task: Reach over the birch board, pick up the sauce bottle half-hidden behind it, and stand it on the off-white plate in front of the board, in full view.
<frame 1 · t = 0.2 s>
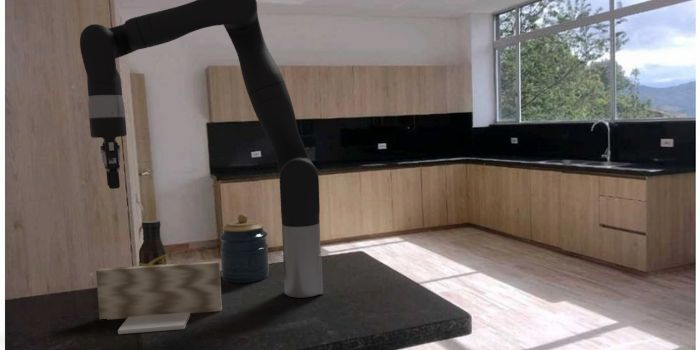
hand: (113, 187, 124), 28 cm above the countertop, tool pointing down, fingers open, 8 cm apart
sauce bottle: (155, 305, 127), on the countertop
canister: (245, 277, 148), on the countertop
birch board: (162, 314, 120), on the countertop
white plate: (155, 324, 113), on the countertop
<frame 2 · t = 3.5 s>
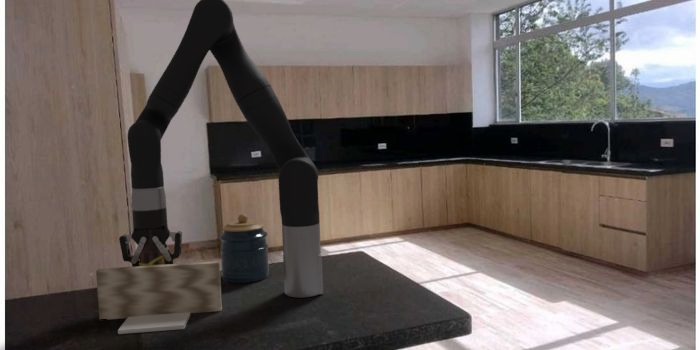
hand: (153, 276, 126), 7 cm above the countertop, tool pointing down, fingers closed on sauce bottle, 6 cm apart
sauce bottle: (155, 305, 127), on the countertop, touching gripper
everything else where it was.
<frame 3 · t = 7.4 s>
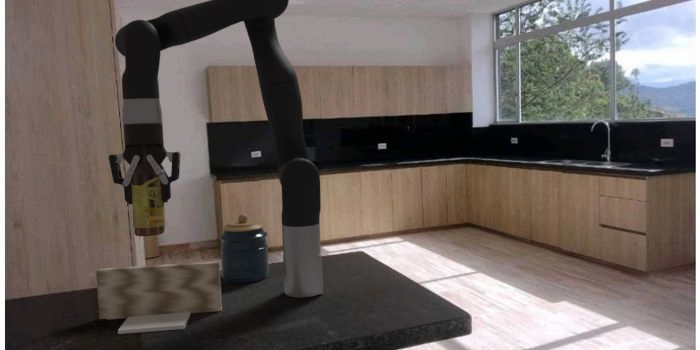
hand: (148, 202, 111), 26 cm above the countertop, tool pointing down, fingers closed on sauce bottle, 6 cm apart
sauce bottle: (150, 235, 112), point 19 cm above the countertop, touching gripper
everything else where it was.
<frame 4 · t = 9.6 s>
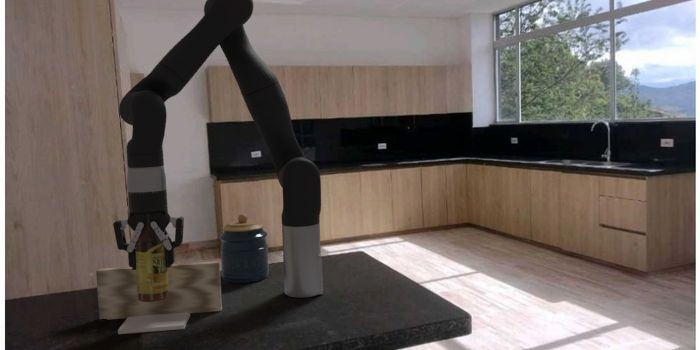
hand: (152, 267, 113), 12 cm above the countertop, tool pointing down, fingers closed on sauce bottle, 6 cm apart
sauce bottle: (153, 299, 113), point 5 cm above the countertop, touching gripper
everything else where it was.
when the fingers open (9 cm above the countertop, at t = 11.5 s): sauce bottle drops 1 cm, resting on white plate.
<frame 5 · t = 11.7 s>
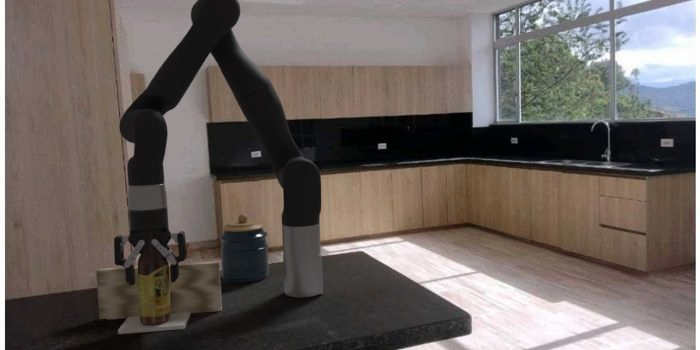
hand: (153, 282, 113), 9 cm above the countertop, tool pointing down, fingers open, 8 cm apart
sauce bottle: (155, 321, 114), point 1 cm above the countertop, touching white plate
everything else where it was.
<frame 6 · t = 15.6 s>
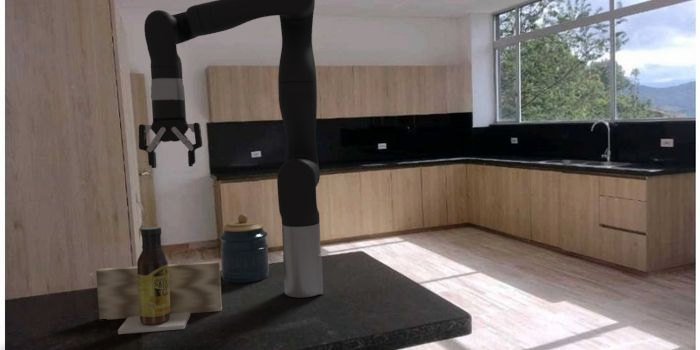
hand: (172, 167, 129), 32 cm above the countertop, tool pointing down, fingers open, 8 cm apart
nothing on the countertop moved.
at the end: sauce bottle inside the target area (0.3 cm from its centre), point 0.6 cm above the countertop; sauce bottle tilted 0°; the gripper is holding nothing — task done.
